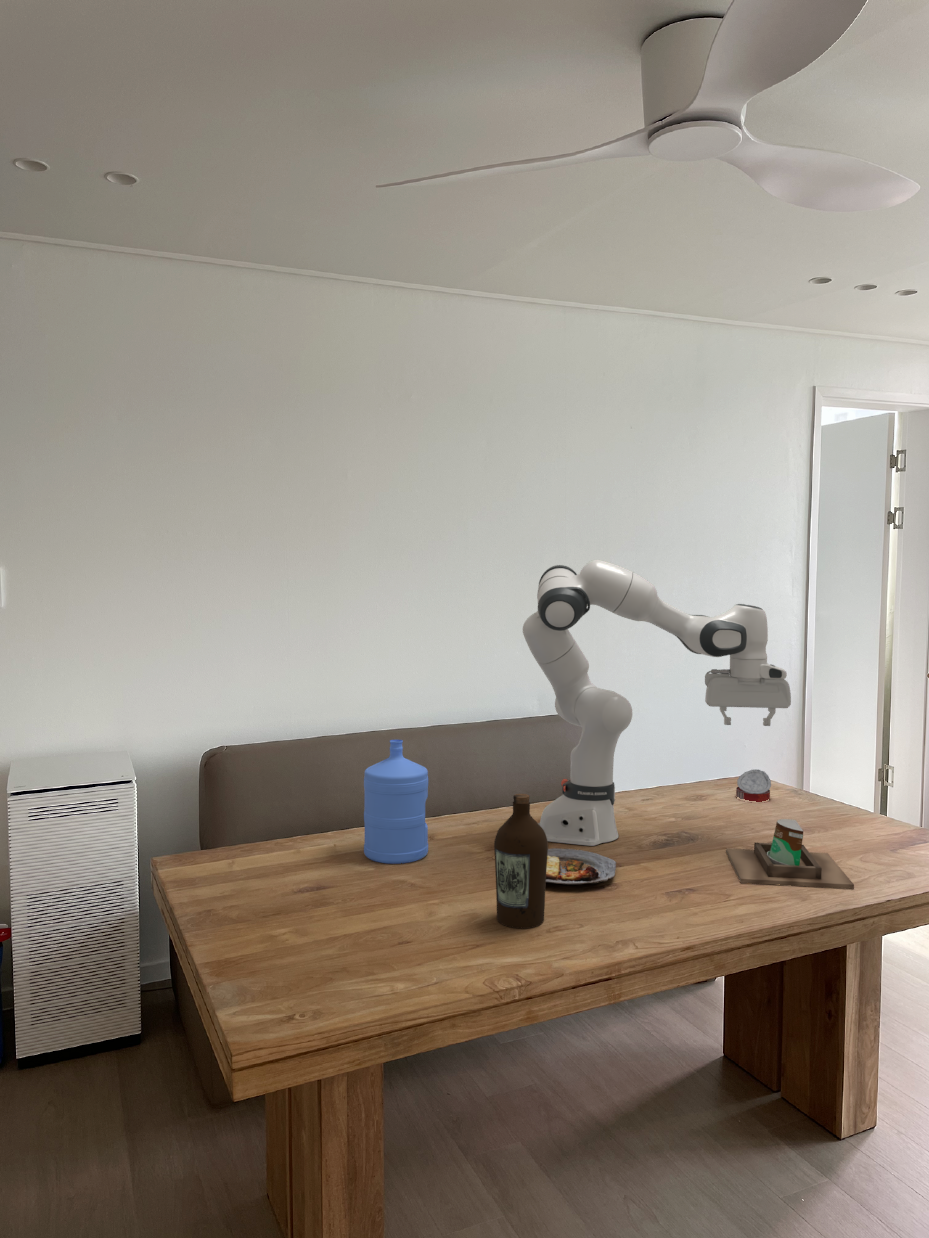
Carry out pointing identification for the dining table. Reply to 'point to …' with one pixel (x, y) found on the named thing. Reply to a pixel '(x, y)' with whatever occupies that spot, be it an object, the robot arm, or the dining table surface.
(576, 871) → the food plate
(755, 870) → the caddy board
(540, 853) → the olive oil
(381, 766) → the water jug
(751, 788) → the canned food
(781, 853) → the food container
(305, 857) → the dining table surface
